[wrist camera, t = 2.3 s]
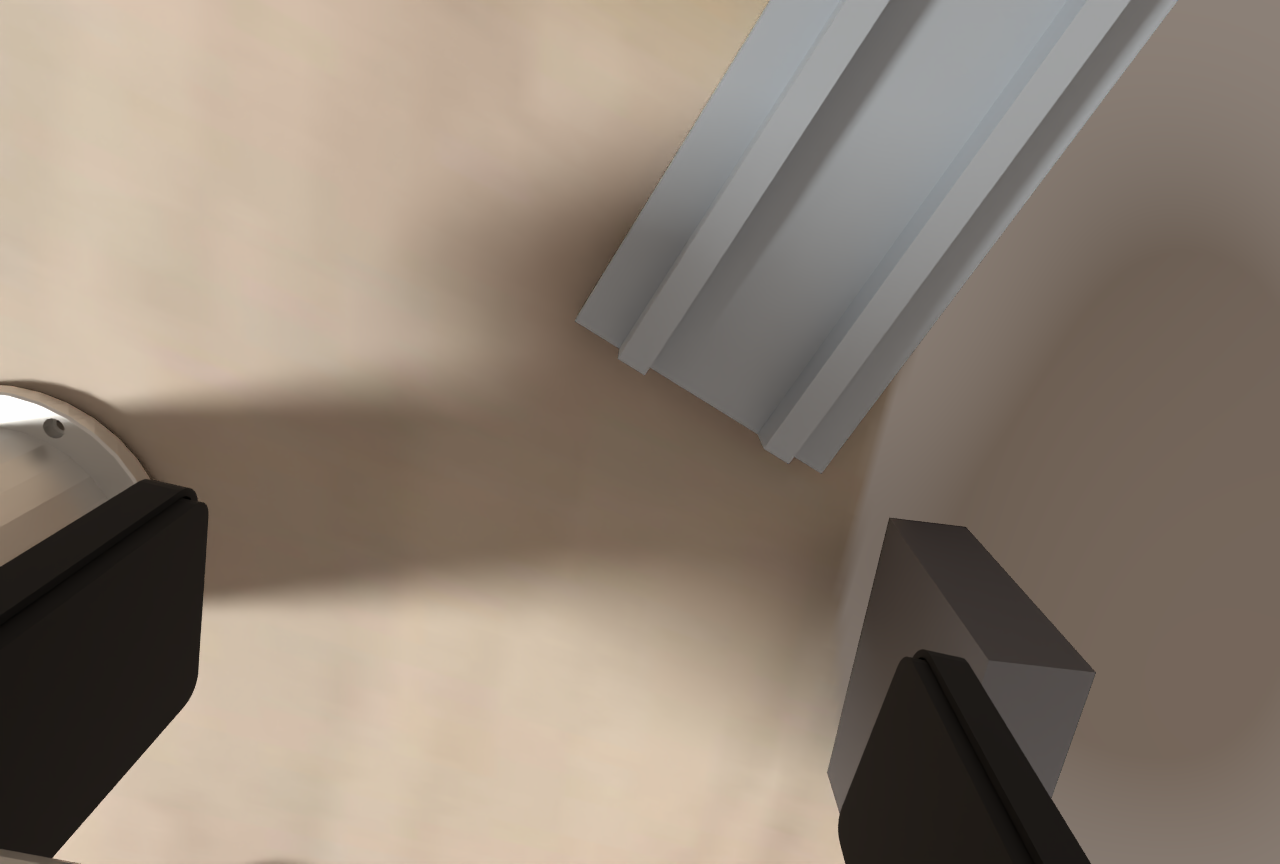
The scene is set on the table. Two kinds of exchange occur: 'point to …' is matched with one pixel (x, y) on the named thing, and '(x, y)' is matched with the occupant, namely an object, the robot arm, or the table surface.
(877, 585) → the picture frame
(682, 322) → the picture ledge
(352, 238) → the table surface
